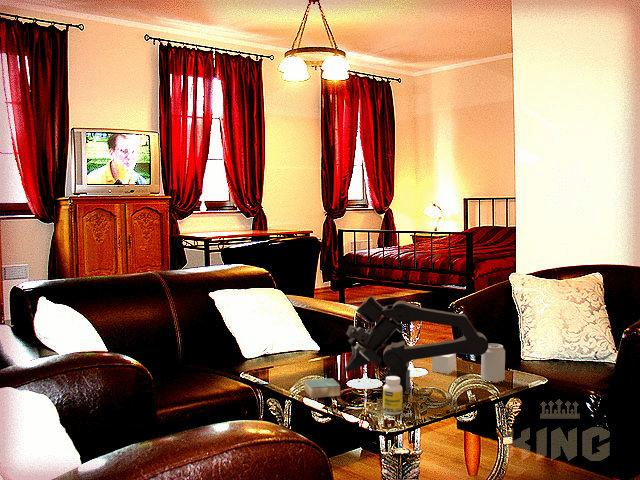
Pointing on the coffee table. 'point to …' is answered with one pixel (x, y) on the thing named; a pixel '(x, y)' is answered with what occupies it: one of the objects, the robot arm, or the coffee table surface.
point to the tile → (322, 388)
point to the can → (493, 363)
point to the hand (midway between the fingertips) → (345, 371)
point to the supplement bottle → (392, 396)
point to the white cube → (444, 363)
